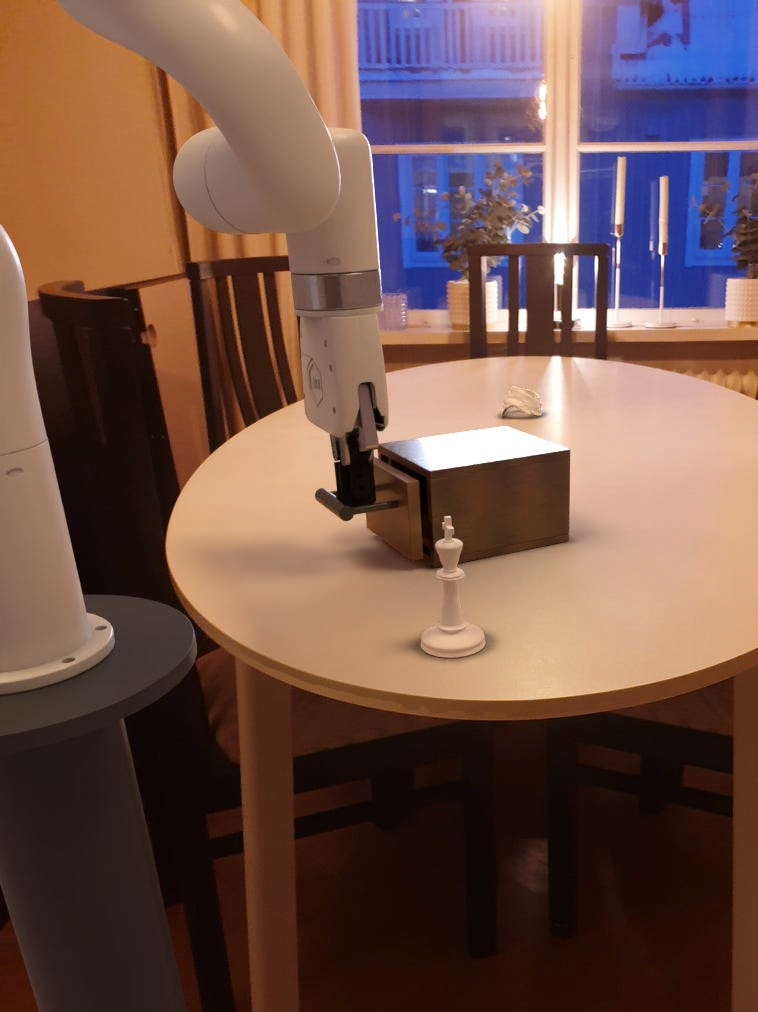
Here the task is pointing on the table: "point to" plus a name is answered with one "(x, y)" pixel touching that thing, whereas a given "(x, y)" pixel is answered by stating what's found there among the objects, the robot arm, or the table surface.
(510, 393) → the beige lumpy piece
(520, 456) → the cabinet
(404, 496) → the drawer
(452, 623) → the chess piece
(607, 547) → the table surface
